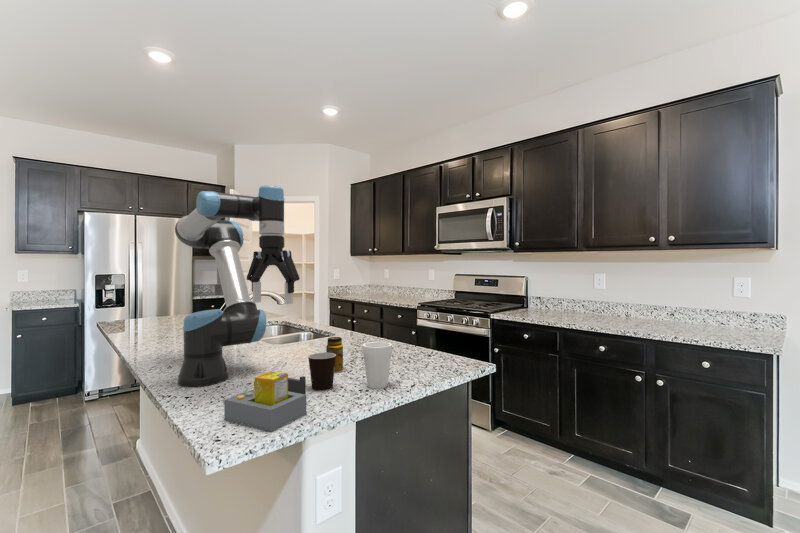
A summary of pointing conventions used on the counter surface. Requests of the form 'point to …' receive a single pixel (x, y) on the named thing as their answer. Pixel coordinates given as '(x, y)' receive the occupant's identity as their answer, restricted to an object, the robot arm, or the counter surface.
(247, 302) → the robot arm
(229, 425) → the counter surface
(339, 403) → the counter surface
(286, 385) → the supplement box
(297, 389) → the dark grey rack
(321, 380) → the coffee mug
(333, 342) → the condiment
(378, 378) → the foam cup
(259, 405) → the port
